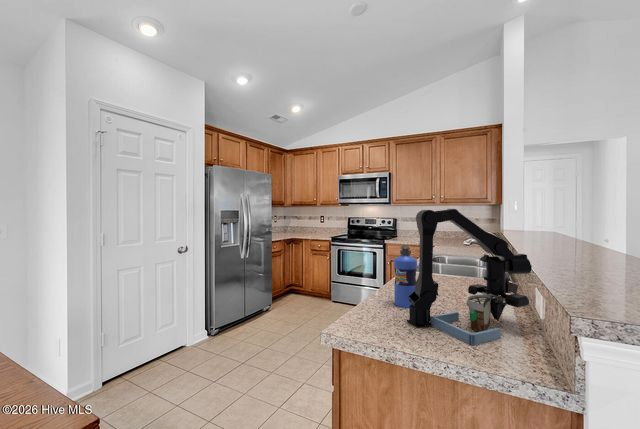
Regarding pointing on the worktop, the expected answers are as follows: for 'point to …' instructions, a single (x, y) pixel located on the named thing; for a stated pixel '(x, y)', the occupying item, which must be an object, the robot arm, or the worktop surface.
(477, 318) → the food container
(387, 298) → the worktop surface
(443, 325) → the slate-blue bay
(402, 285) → the water bottle
